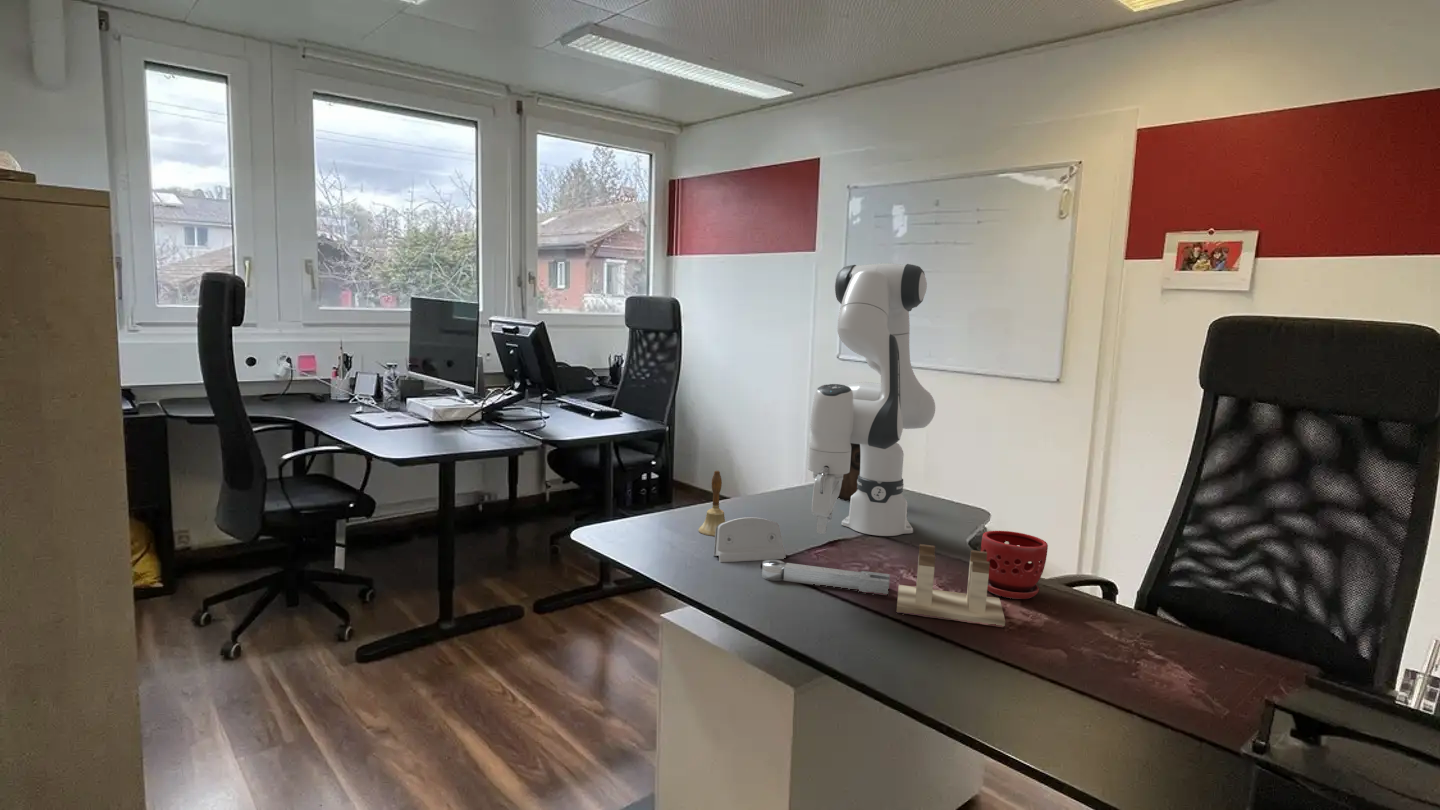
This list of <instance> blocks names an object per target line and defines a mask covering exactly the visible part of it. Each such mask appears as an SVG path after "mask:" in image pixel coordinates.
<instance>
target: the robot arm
mask: <svg viewBox="0 0 1440 810" xmlns="http://www.w3.org/2000/svg"><path fill="white" fill-rule="evenodd" d="M927 285H928V283H927V278H926V275H925V271H924V270H923V268H922V267H920V266H919V265H916V264H911V263H910V264H909V263H907V264H899V263H891V262H890V263H889V262H888V263H887V262H881V263H873V264H871V263H870V264H859V265H856V264H851V265H847V266H844V267H842V268H841V269H840V270H839V272H838V273H837V275H836V278H835V283H834V293H835V297H836V300H837V301H838V303H839V304H840V308H839V314H838V319H837V328H836V329H837V335H838V338H839V339H840V341H841V342H842V343H843V345H845V346H846V347H847V348H848V349H849V350H851V351H852V352H853V353H856V355H859V356H862V357H864V358H865V361H866V363H867V365H868V366H869V367H870V368H871V369H872V370H874V371H876V372H877V373H878V374H879V375H880V383H879V382H869V381H863V382H862V381H861V382H852V383H848V384H846V385H844V384H841V383H839V384H838V383H829V384H822V385H820V386H819V387H817V388H816V390H815V393H814V397H813V401H812V407H811V414H810V423H809V425H810V427H809V428H810V432H811V438H810V441H809V443H808V454H807V455H808V456H807V467H806V468H807V470H808V471H809V472H812V478H813V479H814V481H813V489H812V498H811V499H812V500H811V515H813V516H816V517H815V519H816V525H817V526H816V532H817V534H821V535H824V534H826V532H827V528H828V527H827V526H828V525H827V523H830V522H832V518H833V517H832V516H833V511H834V506H835V504H836V502H837V500H838V499H837V498H838V496H839V493H840V490H841V485H842V480H843V474H847V473H849V472H850V461H851V444H850V443H854V444H860V456H861V457H860V474H859V475H858V479H857V488H858V490H857V491H856V492H855V493H854V494H853V495H852V496H851V499H850V501H849V502H850V503H849V511H848V515H847V516H846V517H845V518H844V519H842V520H841V526H844V527H847V528H850V529H851V530H853V531H856V532H857V533H858V532H859V533H862V534H865V535H872V536H879V537H894V536H899V535H903V534H913V533H914V528H913V527H912V525H911V524H910V522H909V521H908V519H907V518H908V512H907V511H908V501H907V499H906V498H905V497H904V496H903V494H902V493H903V491H904V478H903V468H904V467H903V466H904V457H905V454H904V450H903V448H902V446H901V445H900V444H899V443H898V442H899V441H900V440H901V436H902V433H903V429H904V430H909V429H910V430H912V429H913V430H915V429H925V428H926V427H927V426H928V425H929V424H931V422H932V421H933V418H934V417H935V413H936V402H935V399H934V397H933V395H932V394H931V393H930V392H929V391H928V390H927V389H926V388H925V387H924V386H923V385H922V384H921V382H919V380H918V378H917V376H916V375H915V373H914V370H913V367H912V363H911V353H910V334H911V333H910V329H911V328H910V326H911V325H910V312H911V311H912V310H913V309H915V308H917V307H918V306H920V304H921V303H922V302H923V301H924V298H925V296H926V294H927V290H928V289H927V287H928V286H927Z"/></svg>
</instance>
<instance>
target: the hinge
mask: <svg viewBox="0 0 1440 810" xmlns="http://www.w3.org/2000/svg"><path fill="white" fill-rule="evenodd" d="M717 556H718V563H730V562H731V563H732V562H750V561H751V562H752V561H765V560H785V559H784V558H786V557H787V556H786V550H785V547H784V543H783V538H782V531H781V528H780V524H779V523H778V522H776V521H773V520H771V519H770V520H769V519H766V518H762V517H750V516H749V517H747V516H746V517H739V518H735V519H734V518H733V519H730V520H727V521H726V520H725V522H724V523H721V524H719V525H718V526H717V527H716V531H715V536H714V546H713V557H717Z"/></svg>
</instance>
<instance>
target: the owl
mask: <svg viewBox="0 0 1440 810" xmlns="http://www.w3.org/2000/svg"><path fill="white" fill-rule="evenodd" d="M850 444H851V461H850V472H849V473H847V474H843V480H842V485H841V490H840V493H839V496H838V498H840V499H839V500H843V499H844V500H843V501H847V500H850V499H851V496H852V495H853V494H854V493H855V492H856V491H857V490H858V488H857V479H858V475H859V474H860V457H861V456H860V444H854V443H850Z"/></svg>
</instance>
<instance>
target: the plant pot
mask: <svg viewBox="0 0 1440 810" xmlns="http://www.w3.org/2000/svg"><path fill="white" fill-rule="evenodd" d="M1006 542H1007V543H1006ZM980 544H981V546H980V551H983V552H987V560H986V561H987V562H989V563H990V566H989V577H988V587H987V592H989V593H991V594H993V595H996V596H997V597H998V596H999V597H1001V596H1002V597H1001V598H1005V597H1006V598H1010V599H1011V598H1012V599H1013V600H1027V599H1030V598H1033V597H1035V596H1036V595H1038V593H1039V592H1040V591H1039V590H1040V589H1039V586H1038V585H1037V584H1038V582H1039V580H1040V579H1041V577H1042V576H1043V573H1044V570H1045V566H1046V562H1047V557H1048V549H1049V548H1048V547H1049V545H1048V542H1046V540H1045V539H1044V540H1043V539H1042V538H1039V537H1038V536H1034V535H1030V534H1027V533H1022V532H1017V531H1008V530H988V531H985V532H983V533H982V537H981V542H980ZM1006 598H1005V599H1006ZM1012 599H1011V600H1012Z"/></svg>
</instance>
